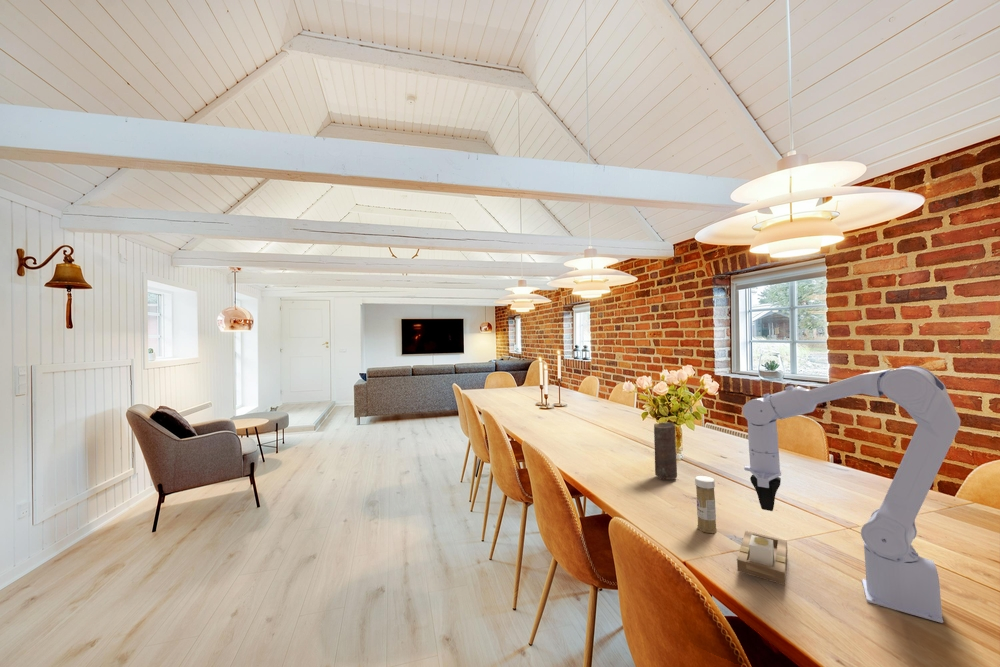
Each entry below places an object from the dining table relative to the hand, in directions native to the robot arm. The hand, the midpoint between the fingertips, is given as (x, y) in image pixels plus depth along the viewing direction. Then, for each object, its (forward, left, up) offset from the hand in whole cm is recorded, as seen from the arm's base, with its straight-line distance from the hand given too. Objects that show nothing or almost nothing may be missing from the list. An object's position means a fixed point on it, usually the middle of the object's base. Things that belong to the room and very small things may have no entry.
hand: (767, 509), depth 87 cm
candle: (+33, -38, -11) cm, 51 cm away
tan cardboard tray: (+1, +6, -10) cm, 12 cm away
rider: (+1, +9, -8) cm, 12 cm away
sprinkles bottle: (+14, -5, -11) cm, 18 cm away
